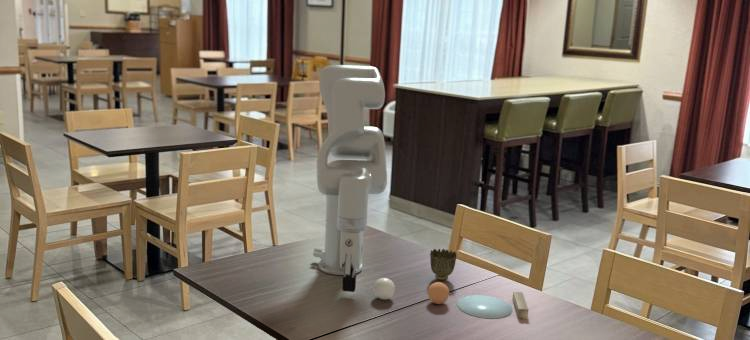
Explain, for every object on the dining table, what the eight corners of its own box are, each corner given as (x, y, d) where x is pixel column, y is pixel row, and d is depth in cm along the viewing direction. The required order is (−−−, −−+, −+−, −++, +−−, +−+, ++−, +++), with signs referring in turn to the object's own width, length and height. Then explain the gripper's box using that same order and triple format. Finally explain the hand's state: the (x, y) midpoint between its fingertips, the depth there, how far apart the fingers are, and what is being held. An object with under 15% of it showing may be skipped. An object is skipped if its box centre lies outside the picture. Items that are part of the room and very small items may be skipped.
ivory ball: (369, 299, 177) (370, 279, 176) (378, 292, 182) (379, 273, 181) (388, 304, 175) (389, 284, 174) (397, 297, 180) (398, 277, 178)
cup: (453, 286, 189) (455, 258, 188) (426, 282, 191) (428, 255, 189) (455, 276, 196) (458, 250, 195) (430, 273, 198) (432, 247, 196)
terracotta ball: (423, 304, 176) (425, 284, 175) (431, 297, 181) (433, 277, 180) (443, 309, 174) (445, 288, 173) (451, 301, 179) (453, 281, 178)
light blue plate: (449, 310, 174) (449, 309, 174) (467, 291, 186) (467, 291, 186) (503, 323, 168) (503, 322, 168) (518, 303, 180) (518, 302, 180)
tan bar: (517, 318, 171) (518, 308, 170) (512, 300, 182) (513, 291, 181) (527, 318, 171) (528, 309, 170) (521, 301, 182) (522, 292, 181)
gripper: (363, 232, 167) (360, 302, 171) (369, 215, 182) (366, 281, 185) (333, 229, 168) (330, 300, 171) (341, 213, 182) (338, 278, 186)
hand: (348, 290), depth 178 cm, fingers closed
